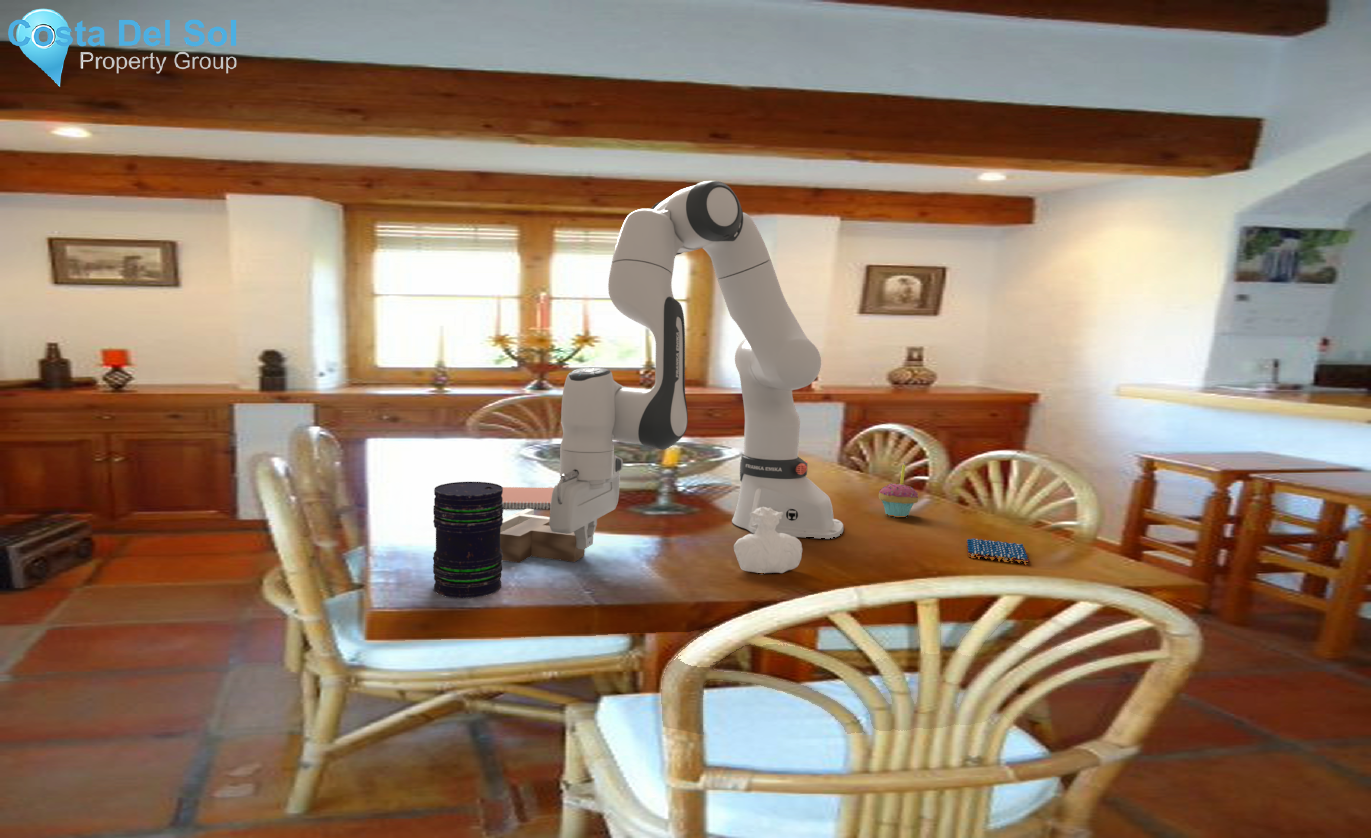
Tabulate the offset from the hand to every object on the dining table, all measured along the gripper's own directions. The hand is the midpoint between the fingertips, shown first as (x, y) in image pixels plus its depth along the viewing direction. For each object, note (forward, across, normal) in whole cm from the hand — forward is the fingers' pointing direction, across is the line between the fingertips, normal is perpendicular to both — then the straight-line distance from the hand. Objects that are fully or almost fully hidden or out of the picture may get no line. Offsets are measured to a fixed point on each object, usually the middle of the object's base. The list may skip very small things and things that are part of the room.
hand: (584, 547), depth 133 cm
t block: (+2, 0, +7) cm, 7 cm away
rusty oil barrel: (+2, -20, +10) cm, 22 cm away
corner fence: (+2, 0, +12) cm, 12 cm away
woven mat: (+3, +35, -68) cm, 76 cm away
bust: (+2, +8, -29) cm, 31 cm away
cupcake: (+2, +59, -49) cm, 76 cm away
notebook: (+3, +37, +26) cm, 45 cm away
